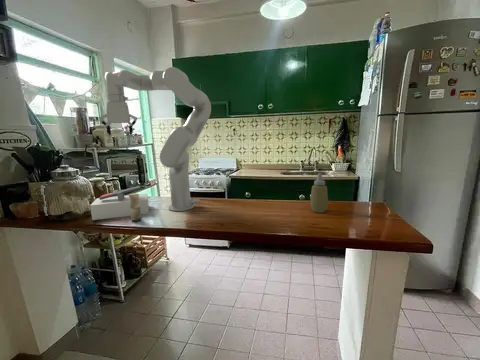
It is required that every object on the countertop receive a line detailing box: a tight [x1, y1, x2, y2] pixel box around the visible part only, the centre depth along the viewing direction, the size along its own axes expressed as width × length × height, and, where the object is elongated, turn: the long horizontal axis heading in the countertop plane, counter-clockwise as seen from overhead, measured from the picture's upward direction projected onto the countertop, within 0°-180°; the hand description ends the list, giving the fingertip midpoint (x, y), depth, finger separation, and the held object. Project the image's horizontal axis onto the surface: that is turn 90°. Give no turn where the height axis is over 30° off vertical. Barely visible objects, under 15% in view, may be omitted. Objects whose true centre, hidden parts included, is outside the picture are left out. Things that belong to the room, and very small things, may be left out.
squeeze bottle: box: [309, 172, 329, 214], centre depth 112 cm, size 8×8×18 cm
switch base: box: [89, 189, 150, 221], centre depth 120 cm, size 24×14×11 cm, turn 110°
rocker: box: [98, 185, 141, 200], centre depth 119 cm, size 18×5×1 cm, turn 110°
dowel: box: [128, 192, 142, 223], centre depth 107 cm, size 4×4×12 cm
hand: (120, 134), depth 124 cm, fingers open, 9 cm apart
